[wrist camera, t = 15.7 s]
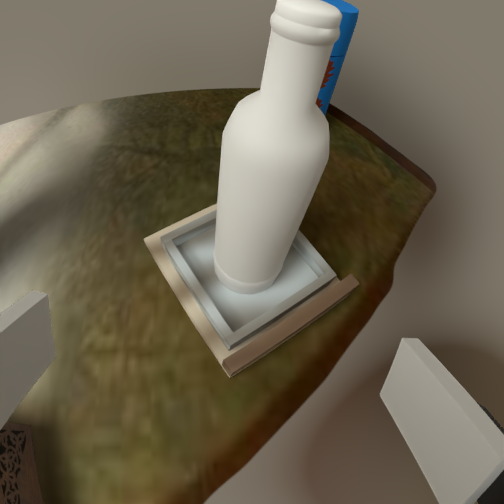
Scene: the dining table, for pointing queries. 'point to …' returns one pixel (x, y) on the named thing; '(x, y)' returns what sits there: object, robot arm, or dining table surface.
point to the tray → (243, 305)
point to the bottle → (274, 149)
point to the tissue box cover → (18, 466)
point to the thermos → (337, 52)
